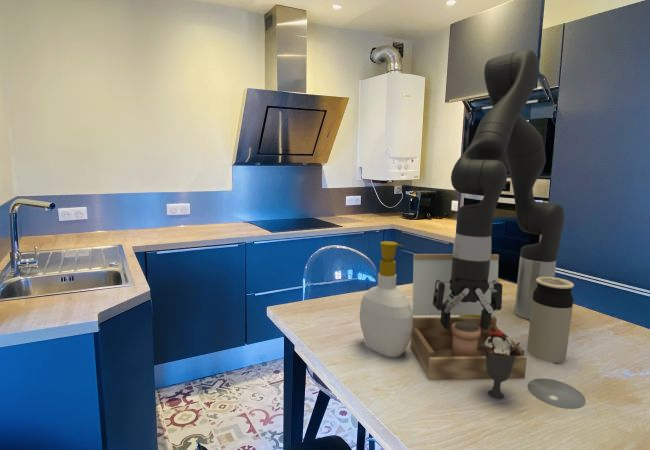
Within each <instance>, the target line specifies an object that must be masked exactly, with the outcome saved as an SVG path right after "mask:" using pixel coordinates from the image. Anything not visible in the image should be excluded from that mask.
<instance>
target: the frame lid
mask: <svg viewBox="0 0 650 450" xmlns="http://www.w3.org/2000/svg"><path fill="white" fill-rule="evenodd" d="M412 255H413V264H412V265H413V266H412V267H413V268H412V269H413V270H412V272H413V274H412V277H413V278H412V307H411V310H412V314H413V317H414V316H441V310H437V309H436V307H435V306H434V305H433V298H434V291H435V283H436V281H437V280H440V281H442V282H449V281H450V279H451V270H452V258H453V253H451V254H450V253H413V254H412ZM499 259H500V255H499V254H497V253H494V254H492V253H491V258H490V268H489V277H488V282H492V281H493V280H496V281H497V282H499ZM450 292H451V289H450V288H447V291H446V292H444V297H443V302H444V301H445V300H446V297H447V296H448V294H449V293H450ZM484 296H485V297H486V299H487V300H488V302H489V303H491V291H490V289H488V290H487V291H486V293H485V294H484ZM454 298H455V297H454ZM482 310H483V307H482V306H481V304H480V303H479V302H478V301H476V303H473V302H461V301H460V302H459V303H458V304H457V305H456V306H454V307H453V308H452V309H451V311H450V313H451V315H450V316H459V315H481V312H482ZM497 311H498V310H495V311H493V312H492V315H491V316H497Z"/></svg>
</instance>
